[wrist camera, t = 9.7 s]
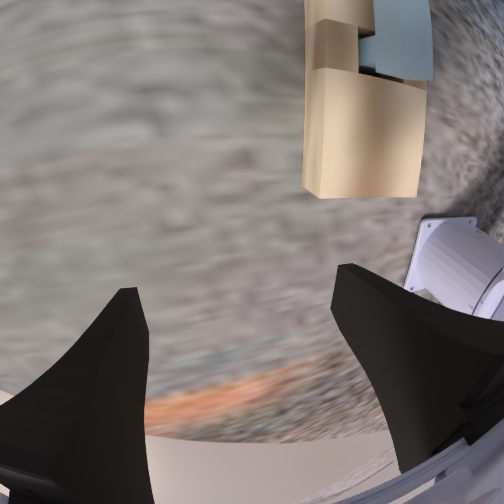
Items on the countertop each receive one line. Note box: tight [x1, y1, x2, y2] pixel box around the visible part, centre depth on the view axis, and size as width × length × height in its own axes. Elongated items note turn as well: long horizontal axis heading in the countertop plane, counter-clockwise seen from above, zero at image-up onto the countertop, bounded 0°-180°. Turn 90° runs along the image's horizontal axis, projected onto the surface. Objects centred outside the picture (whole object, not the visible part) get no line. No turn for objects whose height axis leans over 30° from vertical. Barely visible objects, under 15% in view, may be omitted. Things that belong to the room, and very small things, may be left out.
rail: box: [302, 0, 427, 199], centre depth 13 cm, size 8×26×3 cm, turn 0°
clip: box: [358, 0, 434, 81], centre depth 12 cm, size 2×10×6 cm, turn 0°
